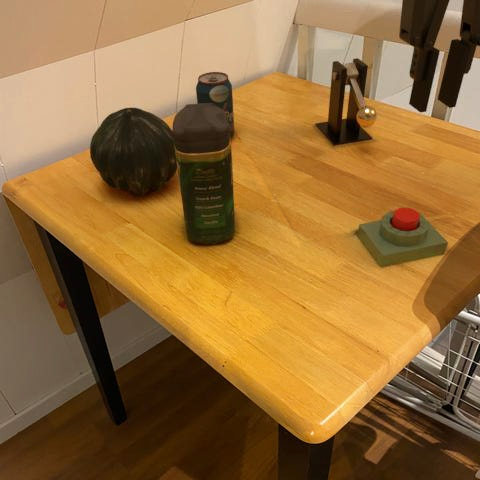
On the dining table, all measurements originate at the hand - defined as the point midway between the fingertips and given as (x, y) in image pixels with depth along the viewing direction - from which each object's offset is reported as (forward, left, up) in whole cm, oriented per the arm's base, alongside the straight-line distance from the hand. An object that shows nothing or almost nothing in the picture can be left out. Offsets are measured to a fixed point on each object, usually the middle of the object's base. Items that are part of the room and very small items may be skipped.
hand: (432, 104), depth 58 cm
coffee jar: (+26, -13, -21) cm, 36 cm away
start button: (0, 0, -17) cm, 17 cm away
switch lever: (-6, -32, -12) cm, 35 cm away
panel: (0, 0, -21) cm, 21 cm away
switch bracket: (-6, -36, -21) cm, 42 cm away
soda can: (+18, -44, -21) cm, 52 cm away
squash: (+35, -31, -21) cm, 51 cm away
